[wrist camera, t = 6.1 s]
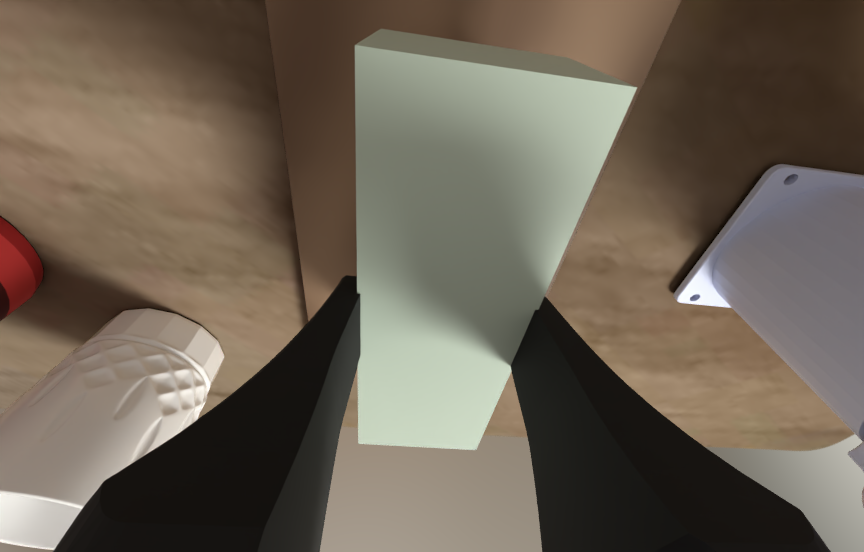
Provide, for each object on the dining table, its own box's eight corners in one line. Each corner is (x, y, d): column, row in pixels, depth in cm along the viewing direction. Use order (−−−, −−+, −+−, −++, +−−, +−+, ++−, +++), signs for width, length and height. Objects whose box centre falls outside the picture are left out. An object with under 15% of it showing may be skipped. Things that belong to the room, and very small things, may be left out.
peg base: (689, -58, 11) (794, -81, 8) (514, 351, 23) (526, 406, 20) (259, -140, 10) (179, -204, 7) (315, 335, 22) (297, 391, 19)
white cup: (73, 294, 20) (-157, 485, 12) (216, 304, 20) (84, 493, 13) (132, 376, 25) (-5, 550, 17) (246, 382, 25) (164, 553, 18)
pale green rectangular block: (468, 371, 18) (476, 450, 15) (371, 364, 18) (358, 443, 14) (567, 57, 9) (637, 87, 6) (380, 28, 9) (354, 45, 6)
